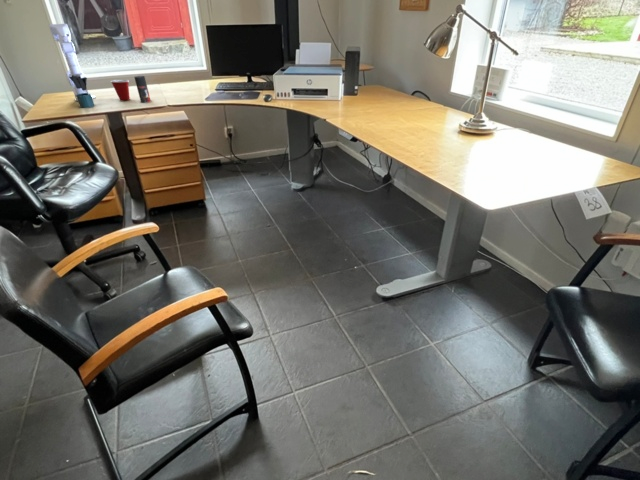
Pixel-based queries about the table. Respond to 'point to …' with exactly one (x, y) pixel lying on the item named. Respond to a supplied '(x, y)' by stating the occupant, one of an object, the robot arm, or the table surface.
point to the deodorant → (142, 89)
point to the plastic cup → (121, 89)
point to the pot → (85, 100)
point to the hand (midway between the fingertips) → (81, 89)
